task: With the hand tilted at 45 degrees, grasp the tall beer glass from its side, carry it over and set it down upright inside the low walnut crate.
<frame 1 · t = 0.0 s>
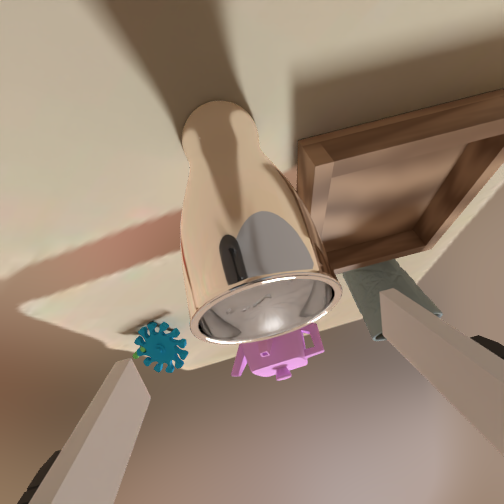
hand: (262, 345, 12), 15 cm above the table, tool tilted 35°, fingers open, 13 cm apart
teakettle: (265, 319, 54), on the table
beer glass: (220, 140, 19), on the table
grey green cup: (366, 262, 42), on the table
walnut crate: (372, 197, 28), on the table
teal spiky toy: (159, 327, 44), on the table
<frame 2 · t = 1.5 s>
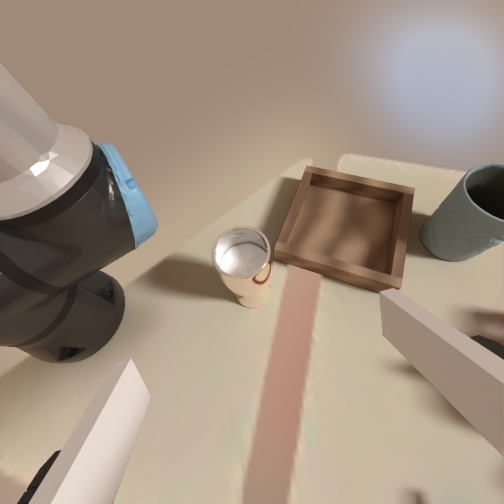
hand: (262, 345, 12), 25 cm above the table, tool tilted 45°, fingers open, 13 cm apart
beer glass: (252, 290, 39), on the table
grey green cup: (445, 238, 40), on the table
walnut crate: (340, 230, 43), on the table
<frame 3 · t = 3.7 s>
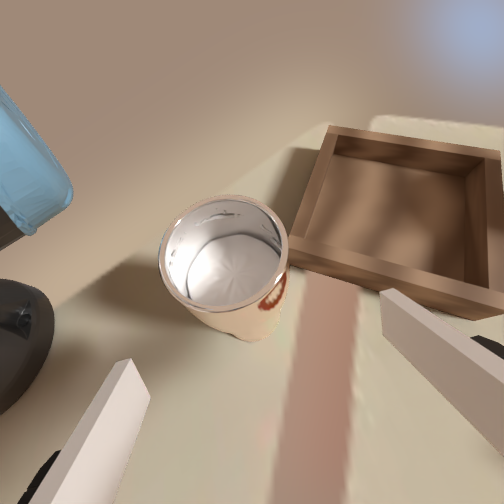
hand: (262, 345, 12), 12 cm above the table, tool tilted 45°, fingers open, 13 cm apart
beer glass: (251, 311, 25), on the table
walnut crate: (383, 217, 28), on the table
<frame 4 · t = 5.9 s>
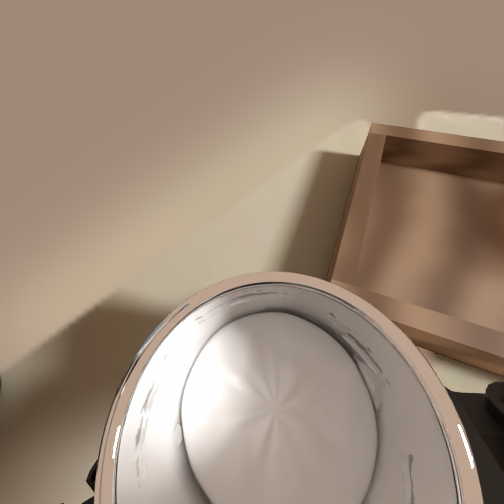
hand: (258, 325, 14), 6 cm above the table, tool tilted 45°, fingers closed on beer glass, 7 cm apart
beer glass: (275, 386, 18), on the table, touching gripper
walnut crate: (450, 248, 21), on the table
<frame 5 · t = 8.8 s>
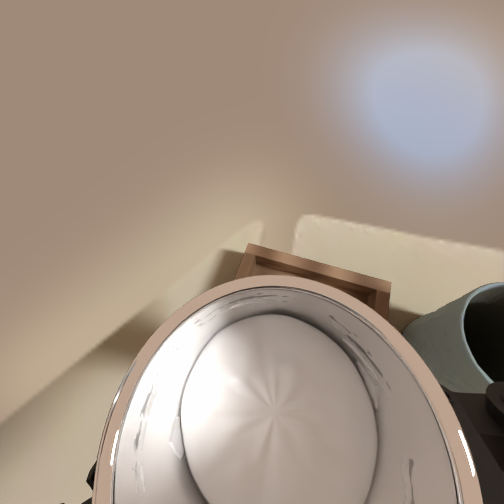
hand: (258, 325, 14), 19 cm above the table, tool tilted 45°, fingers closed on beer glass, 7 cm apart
beer glass: (275, 387, 18), point 13 cm above the table, touching gripper
grey green cup: (435, 350, 29), on the table
walnut crate: (294, 335, 31), on the table
when the fingers open (8 cm above the table, at t = 11.9 s): beer glass drops 1 cm, resting on walnut crate.
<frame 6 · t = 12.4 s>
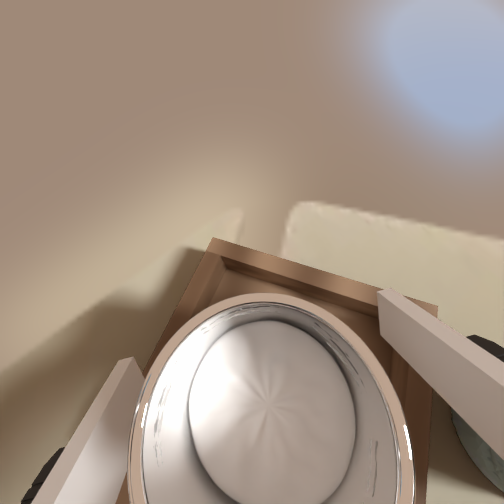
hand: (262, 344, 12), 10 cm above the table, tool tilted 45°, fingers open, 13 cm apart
beer glass: (273, 385, 19), point 1 cm above the table, touching walnut crate
walnut crate: (276, 384, 20), on the table
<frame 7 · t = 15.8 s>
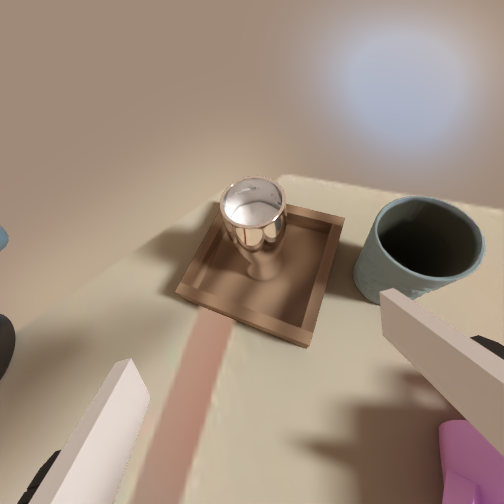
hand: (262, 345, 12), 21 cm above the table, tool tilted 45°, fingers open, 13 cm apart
beer glass: (263, 263, 36), point 1 cm above the table, touching walnut crate
grey green cup: (382, 276, 34), on the table
walnut crate: (264, 264, 37), on the table
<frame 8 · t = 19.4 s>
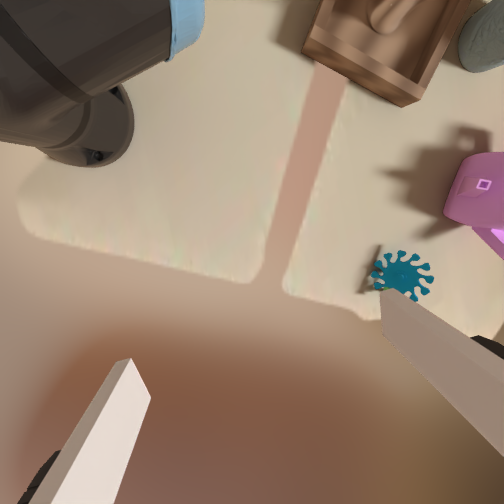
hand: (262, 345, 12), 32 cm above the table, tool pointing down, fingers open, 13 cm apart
teakettle: (476, 194, 45), on the table
beer glass: (385, 9, 34), point 1 cm above the table, touching walnut crate
grey green cup: (481, 40, 37), on the table
walnut crate: (383, 13, 35), on the table
teal spiky toy: (385, 271, 48), on the table
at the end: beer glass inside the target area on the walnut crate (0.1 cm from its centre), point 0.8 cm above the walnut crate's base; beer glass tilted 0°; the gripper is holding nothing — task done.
